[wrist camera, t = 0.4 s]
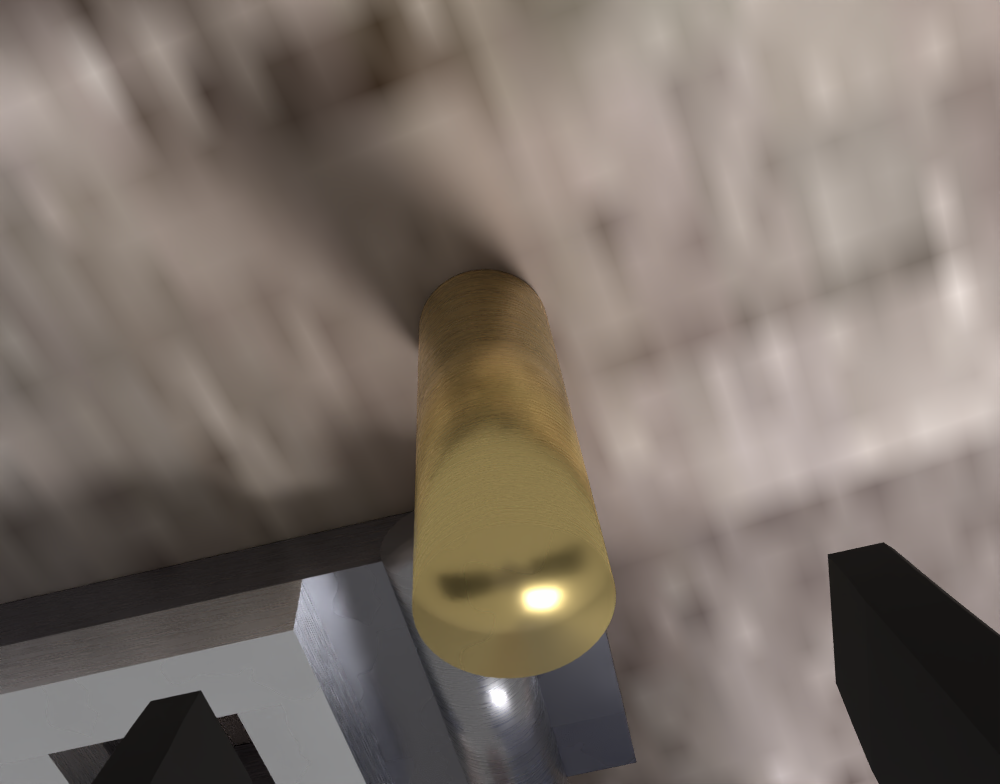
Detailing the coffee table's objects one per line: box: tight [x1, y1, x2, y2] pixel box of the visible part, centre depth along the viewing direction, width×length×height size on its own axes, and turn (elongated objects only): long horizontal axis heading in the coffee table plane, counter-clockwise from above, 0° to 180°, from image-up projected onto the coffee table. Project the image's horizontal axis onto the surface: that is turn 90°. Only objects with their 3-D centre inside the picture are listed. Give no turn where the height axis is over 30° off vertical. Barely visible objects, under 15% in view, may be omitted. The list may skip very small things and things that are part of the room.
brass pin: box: [412, 270, 616, 678], centre depth 15 cm, size 3×3×8 cm
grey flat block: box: [0, 511, 636, 784], centre depth 22 cm, size 9×14×3 cm, turn 103°
